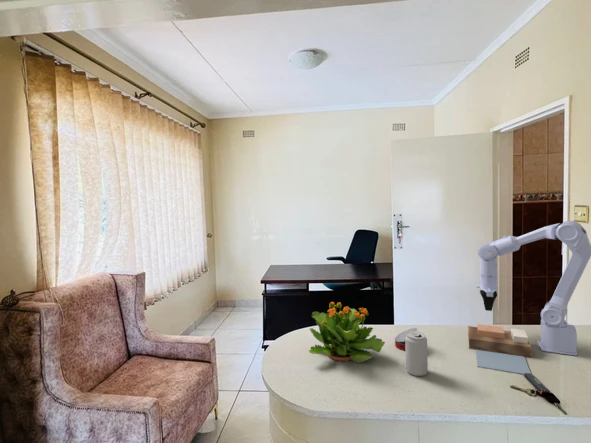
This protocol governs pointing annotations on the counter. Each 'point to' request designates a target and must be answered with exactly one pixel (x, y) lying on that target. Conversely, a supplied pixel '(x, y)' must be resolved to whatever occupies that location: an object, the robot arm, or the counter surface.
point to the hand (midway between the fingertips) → (488, 309)
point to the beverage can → (416, 353)
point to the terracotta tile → (490, 331)
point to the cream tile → (519, 336)
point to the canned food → (402, 339)
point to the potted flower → (344, 335)
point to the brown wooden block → (497, 343)
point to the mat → (502, 362)
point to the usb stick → (535, 382)
